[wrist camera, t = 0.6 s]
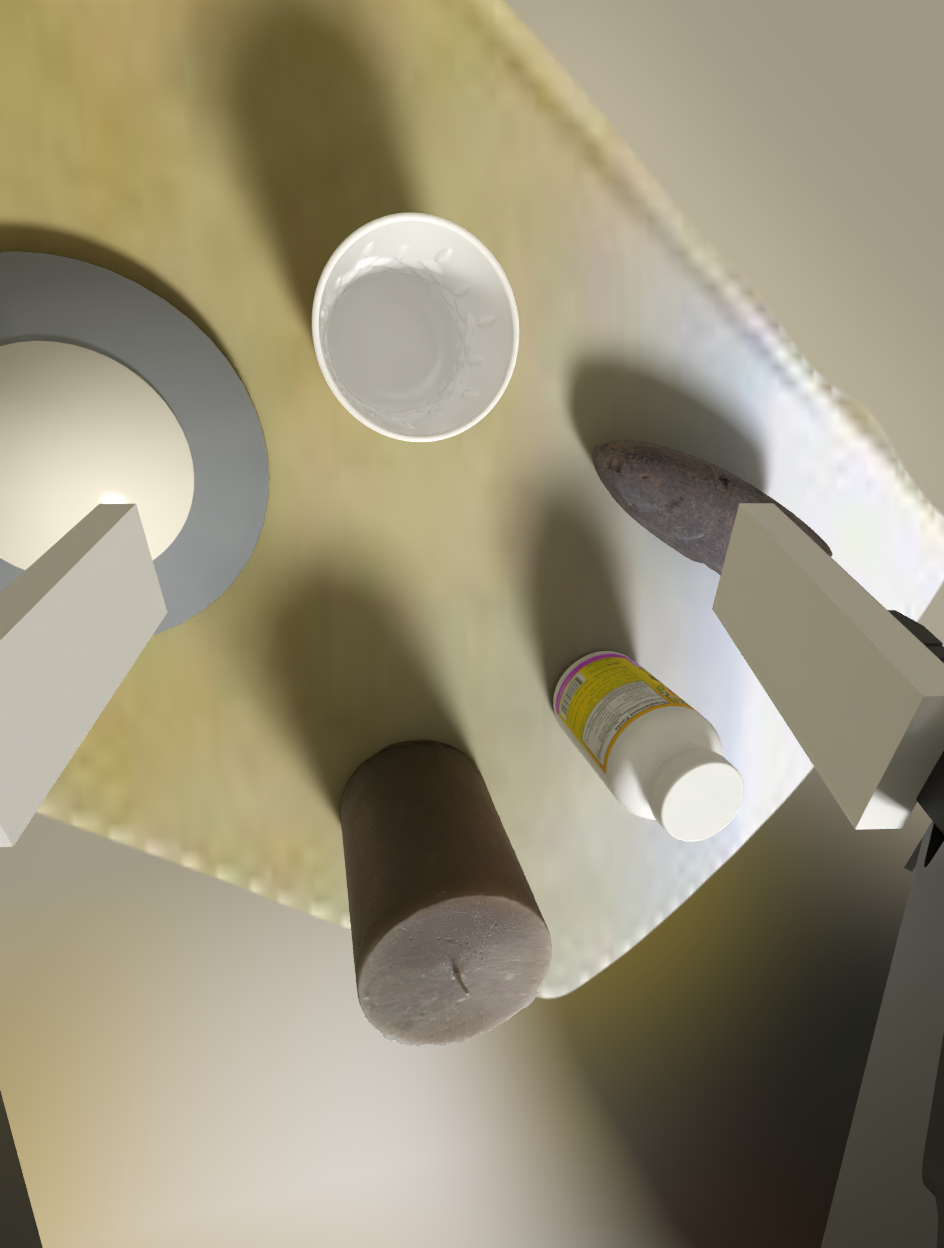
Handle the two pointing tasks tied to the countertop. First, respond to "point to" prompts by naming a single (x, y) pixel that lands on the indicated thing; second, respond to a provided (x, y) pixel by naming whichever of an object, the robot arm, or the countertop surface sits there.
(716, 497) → the perforated stone tool
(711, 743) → the supplement bottle
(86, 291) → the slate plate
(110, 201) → the countertop surface
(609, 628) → the countertop surface
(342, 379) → the white cup
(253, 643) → the countertop surface
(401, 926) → the pillar candle
